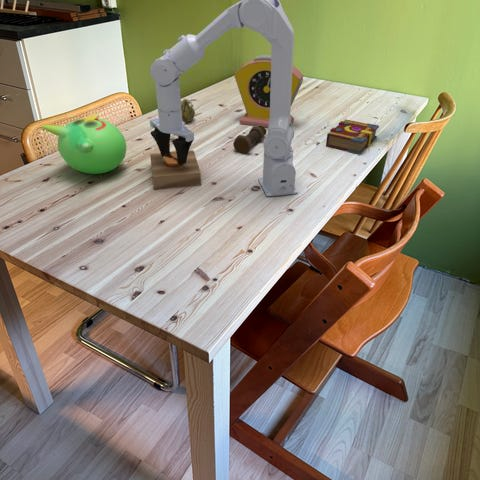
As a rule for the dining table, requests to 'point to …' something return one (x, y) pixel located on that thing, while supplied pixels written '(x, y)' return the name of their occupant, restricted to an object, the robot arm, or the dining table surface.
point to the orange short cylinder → (171, 159)
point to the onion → (187, 110)
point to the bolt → (249, 139)
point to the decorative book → (352, 136)
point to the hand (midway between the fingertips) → (174, 159)
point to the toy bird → (90, 144)
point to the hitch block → (175, 172)
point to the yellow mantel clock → (260, 89)
